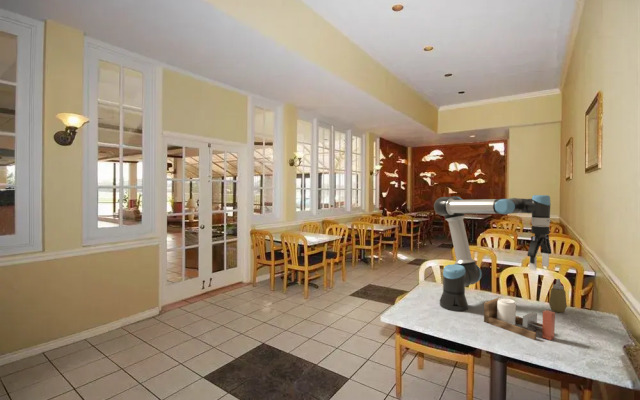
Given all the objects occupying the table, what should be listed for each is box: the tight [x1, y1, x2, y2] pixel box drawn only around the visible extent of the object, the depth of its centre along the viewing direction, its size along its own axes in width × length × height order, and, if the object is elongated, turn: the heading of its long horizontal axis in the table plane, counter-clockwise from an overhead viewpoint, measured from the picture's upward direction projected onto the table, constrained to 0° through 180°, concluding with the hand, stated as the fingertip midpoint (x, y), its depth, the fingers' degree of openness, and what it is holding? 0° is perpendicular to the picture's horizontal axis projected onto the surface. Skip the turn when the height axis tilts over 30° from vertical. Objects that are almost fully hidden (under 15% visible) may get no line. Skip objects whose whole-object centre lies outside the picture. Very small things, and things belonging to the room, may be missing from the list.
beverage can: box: [497, 297, 517, 326], centre depth 162 cm, size 8×8×12 cm
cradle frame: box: [483, 297, 543, 341], centre depth 158 cm, size 24×14×10 cm, turn 33°
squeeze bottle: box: [548, 278, 568, 313], centre depth 179 cm, size 8×8×18 cm
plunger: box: [522, 309, 556, 341], centre depth 149 cm, size 10×10×12 cm
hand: (539, 268), depth 160 cm, fingers open, 13 cm apart
